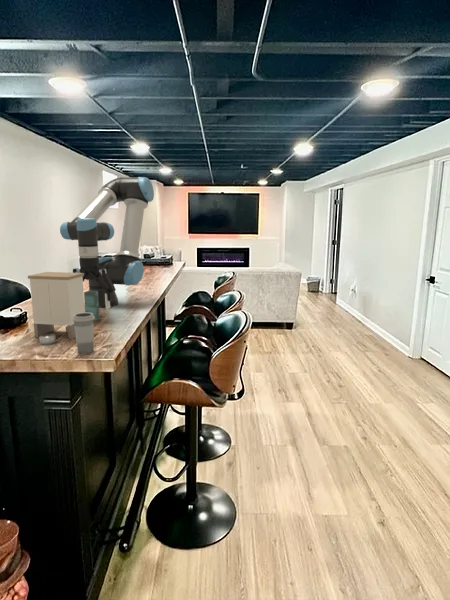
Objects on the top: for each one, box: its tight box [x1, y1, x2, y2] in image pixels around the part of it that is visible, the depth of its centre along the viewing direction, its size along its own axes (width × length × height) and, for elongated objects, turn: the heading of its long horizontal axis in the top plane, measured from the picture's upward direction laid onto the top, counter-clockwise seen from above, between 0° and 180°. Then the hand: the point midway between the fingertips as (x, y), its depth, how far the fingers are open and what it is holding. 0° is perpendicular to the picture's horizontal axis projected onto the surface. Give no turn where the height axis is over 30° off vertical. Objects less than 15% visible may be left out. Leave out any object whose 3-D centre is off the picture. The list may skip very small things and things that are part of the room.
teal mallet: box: [65, 290, 100, 332], centre depth 154 cm, size 20×4×12 cm, turn 172°
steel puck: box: [38, 333, 57, 346], centre depth 131 cm, size 5×5×2 cm
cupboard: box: [27, 271, 85, 340], centre depth 139 cm, size 11×15×22 cm
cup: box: [72, 312, 95, 355], centre depth 122 cm, size 7×7×12 cm
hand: (92, 307), depth 162 cm, fingers open, 13 cm apart
